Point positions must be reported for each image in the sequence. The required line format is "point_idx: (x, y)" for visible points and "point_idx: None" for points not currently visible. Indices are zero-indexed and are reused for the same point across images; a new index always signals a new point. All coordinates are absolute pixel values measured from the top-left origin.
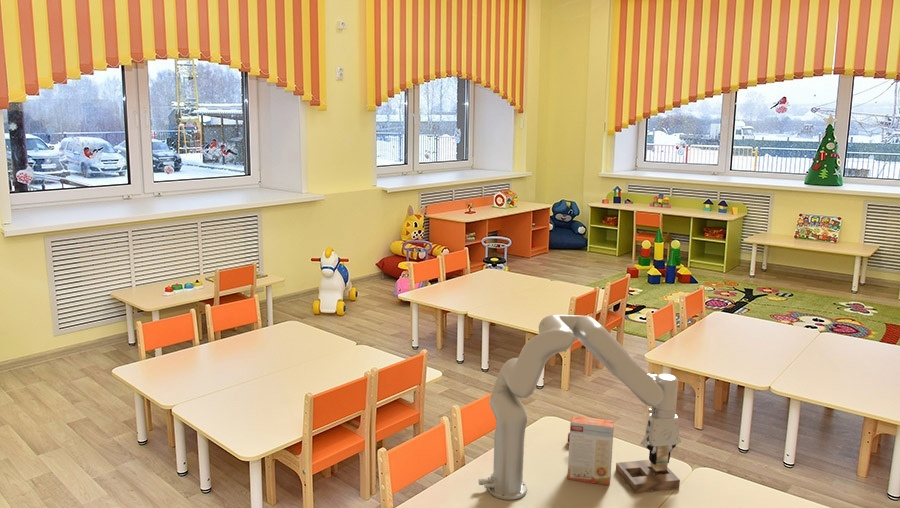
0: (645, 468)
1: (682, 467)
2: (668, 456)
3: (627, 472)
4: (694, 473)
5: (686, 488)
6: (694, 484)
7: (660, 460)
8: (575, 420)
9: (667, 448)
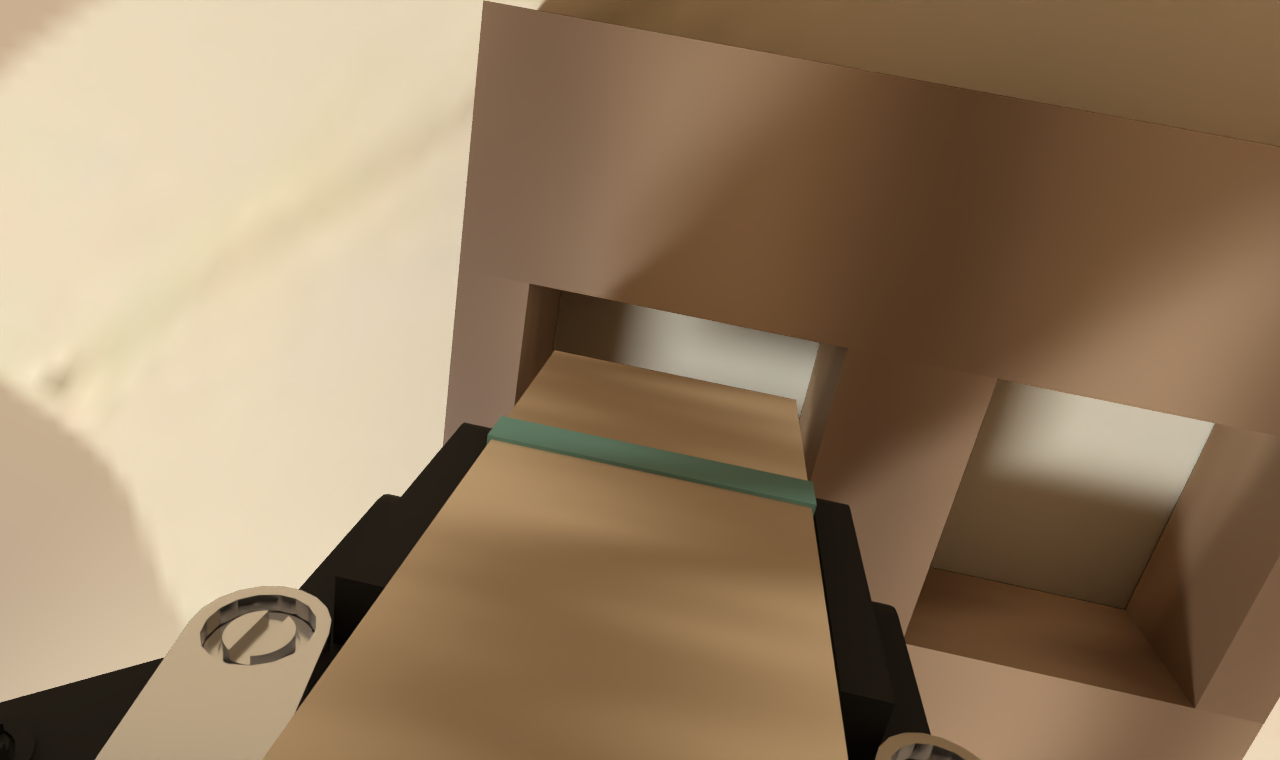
0: None
1: (161, 484)
2: (427, 511)
3: (1268, 608)
4: (70, 299)
5: None
6: (218, 28)
7: (704, 498)
8: None
9: (379, 716)
